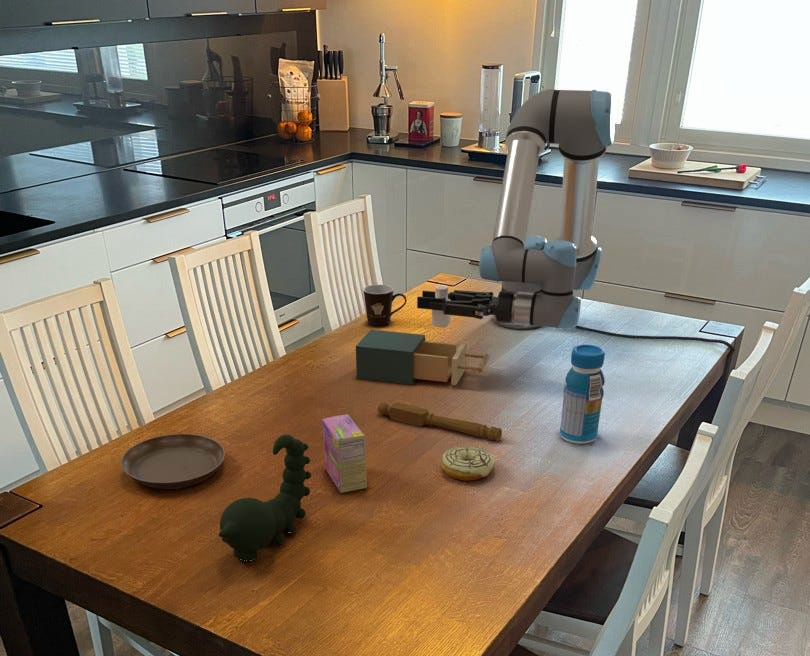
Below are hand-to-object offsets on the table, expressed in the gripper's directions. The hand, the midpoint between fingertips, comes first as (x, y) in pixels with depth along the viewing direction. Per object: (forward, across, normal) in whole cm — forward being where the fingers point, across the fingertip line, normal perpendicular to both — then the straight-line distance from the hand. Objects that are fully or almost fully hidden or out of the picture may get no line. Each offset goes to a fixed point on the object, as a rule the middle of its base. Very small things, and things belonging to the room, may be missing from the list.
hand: (420, 299), depth 210 cm
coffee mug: (+19, +29, -18) cm, 39 cm away
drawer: (-8, -4, -17) cm, 20 cm away
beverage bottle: (-44, -27, -18) cm, 55 cm away
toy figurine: (+5, -84, -19) cm, 86 cm away
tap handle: (-13, -31, -18) cm, 38 cm away
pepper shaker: (-5, 0, -6) cm, 8 cm away
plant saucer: (+34, -65, -18) cm, 76 cm away
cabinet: (+6, -4, -18) cm, 20 cm away
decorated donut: (-24, -49, -18) cm, 58 cm away
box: (-1, -59, -19) cm, 62 cm away
